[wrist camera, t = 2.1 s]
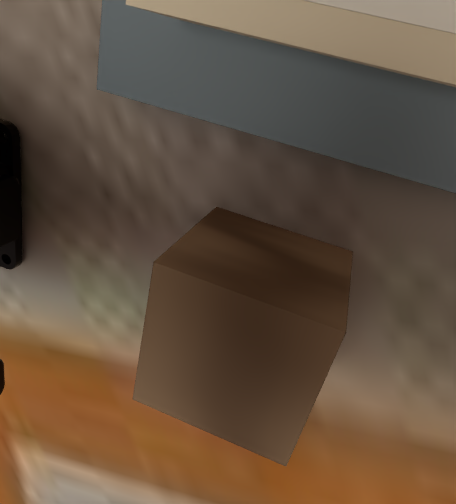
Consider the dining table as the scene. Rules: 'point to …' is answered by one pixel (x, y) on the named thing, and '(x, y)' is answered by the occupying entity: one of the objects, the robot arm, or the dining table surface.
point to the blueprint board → (299, 74)
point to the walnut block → (243, 330)
